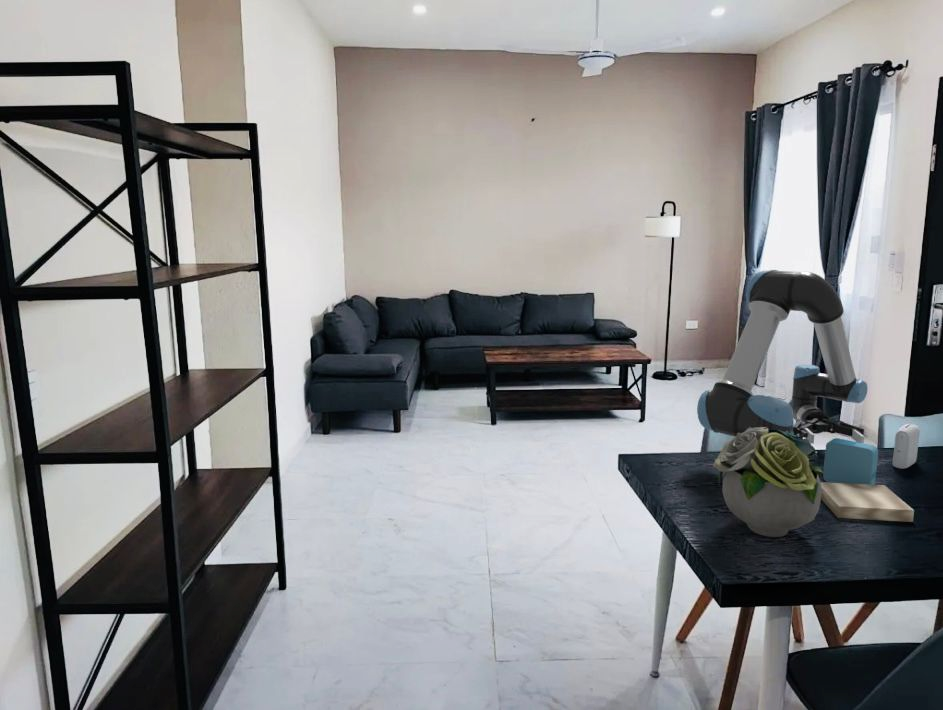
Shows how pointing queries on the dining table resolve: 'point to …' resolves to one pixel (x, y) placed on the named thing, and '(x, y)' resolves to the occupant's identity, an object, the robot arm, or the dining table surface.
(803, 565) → the dining table surface
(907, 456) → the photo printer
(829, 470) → the data package
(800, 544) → the dining table surface
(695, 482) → the dining table surface
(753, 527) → the flower arrangement
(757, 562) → the dining table surface
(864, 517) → the birch board
